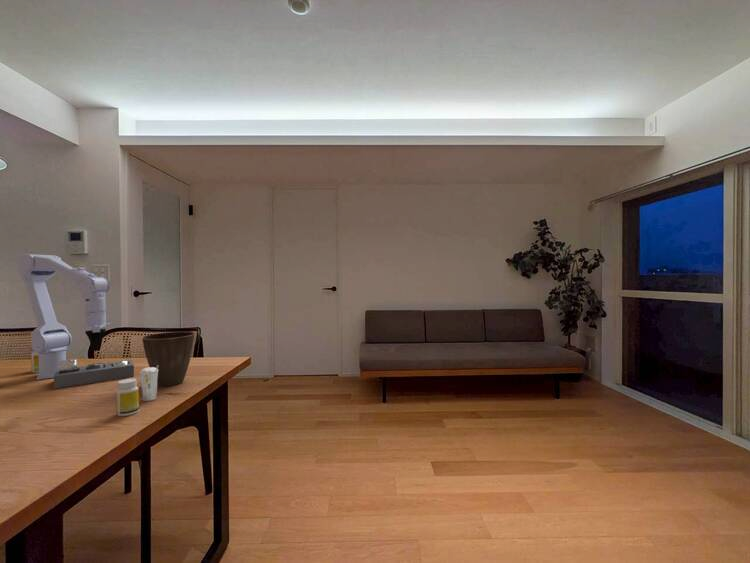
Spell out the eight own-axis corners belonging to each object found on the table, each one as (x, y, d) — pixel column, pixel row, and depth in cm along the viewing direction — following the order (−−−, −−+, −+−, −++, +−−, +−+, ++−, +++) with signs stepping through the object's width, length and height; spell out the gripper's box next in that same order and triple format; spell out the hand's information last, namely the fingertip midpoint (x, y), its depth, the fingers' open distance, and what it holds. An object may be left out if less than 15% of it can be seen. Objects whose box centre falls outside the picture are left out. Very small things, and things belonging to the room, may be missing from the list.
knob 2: (112, 373, 127) (112, 360, 127) (127, 371, 130) (127, 359, 130) (113, 376, 124) (113, 363, 124) (128, 373, 127) (128, 361, 127)
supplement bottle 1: (27, 372, 132) (27, 346, 131) (44, 368, 137) (43, 344, 137) (38, 373, 130) (37, 347, 130) (54, 369, 135) (53, 344, 135)
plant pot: (131, 388, 111) (130, 338, 111) (170, 375, 126) (169, 330, 126) (169, 392, 107) (168, 340, 107) (205, 378, 122) (204, 332, 122)
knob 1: (60, 373, 118) (60, 359, 118) (78, 370, 121) (77, 357, 121) (60, 376, 115) (59, 362, 115) (77, 373, 118) (77, 360, 118)
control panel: (56, 380, 120) (56, 369, 120) (131, 370, 133) (130, 359, 133) (54, 388, 112) (53, 376, 112) (134, 376, 125) (133, 365, 125)
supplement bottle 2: (143, 410, 93) (142, 379, 93) (125, 417, 88) (124, 384, 88) (130, 408, 94) (129, 377, 94) (112, 415, 90) (111, 382, 90)
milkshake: (152, 402, 99) (151, 367, 98) (136, 401, 100) (135, 366, 99) (165, 397, 103) (164, 363, 103) (149, 396, 104) (148, 362, 104)
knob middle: (87, 376, 123) (87, 363, 123) (103, 374, 126) (103, 361, 126) (87, 379, 119) (87, 366, 119) (104, 377, 122) (103, 364, 122)
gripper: (111, 312, 119) (111, 352, 120) (108, 309, 130) (109, 345, 131) (84, 314, 115) (84, 355, 115) (83, 310, 126) (84, 348, 126)
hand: (96, 350), depth 123 cm, fingers closed
